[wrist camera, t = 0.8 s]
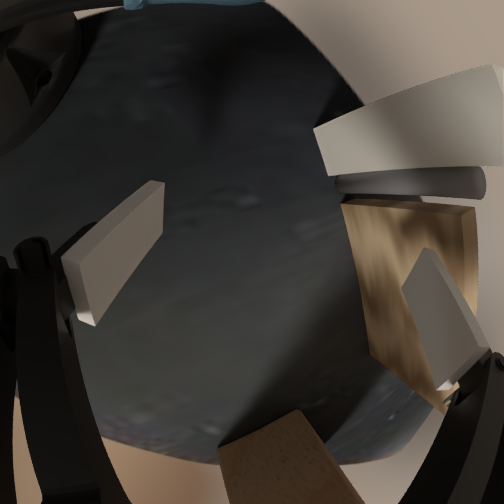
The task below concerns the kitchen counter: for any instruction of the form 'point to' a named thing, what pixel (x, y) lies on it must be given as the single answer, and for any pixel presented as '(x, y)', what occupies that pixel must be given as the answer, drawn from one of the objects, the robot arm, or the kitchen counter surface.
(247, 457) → the wooden block
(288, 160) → the kitchen counter surface
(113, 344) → the kitchen counter surface
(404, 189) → the wall stub
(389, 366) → the gate
